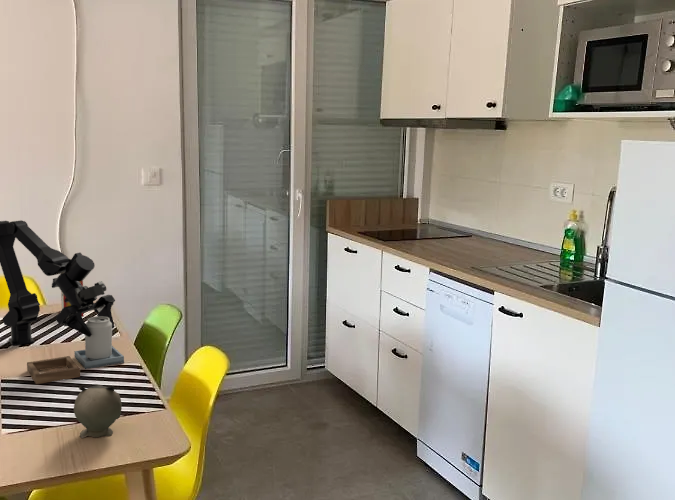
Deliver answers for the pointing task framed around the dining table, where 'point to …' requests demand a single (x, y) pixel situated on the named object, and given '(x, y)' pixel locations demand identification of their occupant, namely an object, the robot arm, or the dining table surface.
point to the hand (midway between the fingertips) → (102, 331)
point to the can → (99, 338)
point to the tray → (87, 363)
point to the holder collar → (51, 376)
